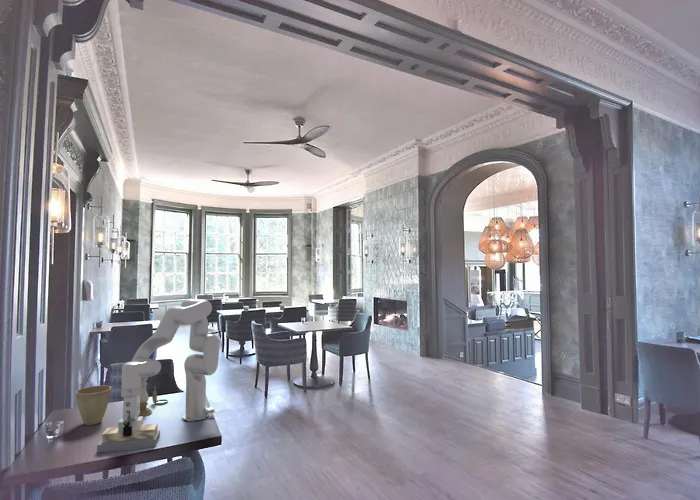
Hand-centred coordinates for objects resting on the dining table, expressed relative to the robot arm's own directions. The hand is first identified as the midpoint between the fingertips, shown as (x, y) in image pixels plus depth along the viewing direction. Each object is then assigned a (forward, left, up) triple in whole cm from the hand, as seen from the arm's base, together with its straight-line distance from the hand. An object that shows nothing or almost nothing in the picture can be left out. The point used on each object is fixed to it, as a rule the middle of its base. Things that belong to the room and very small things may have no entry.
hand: (130, 431), depth 177 cm
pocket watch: (-2, -54, -5) cm, 55 cm away
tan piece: (0, 0, -2) cm, 2 cm away
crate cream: (-2, 0, +1) cm, 3 cm away
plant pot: (+24, -32, -5) cm, 41 cm away
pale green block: (+2, 0, +1) cm, 3 cm away
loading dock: (0, 0, -5) cm, 5 cm away
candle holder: (+3, -38, -5) cm, 39 cm away
